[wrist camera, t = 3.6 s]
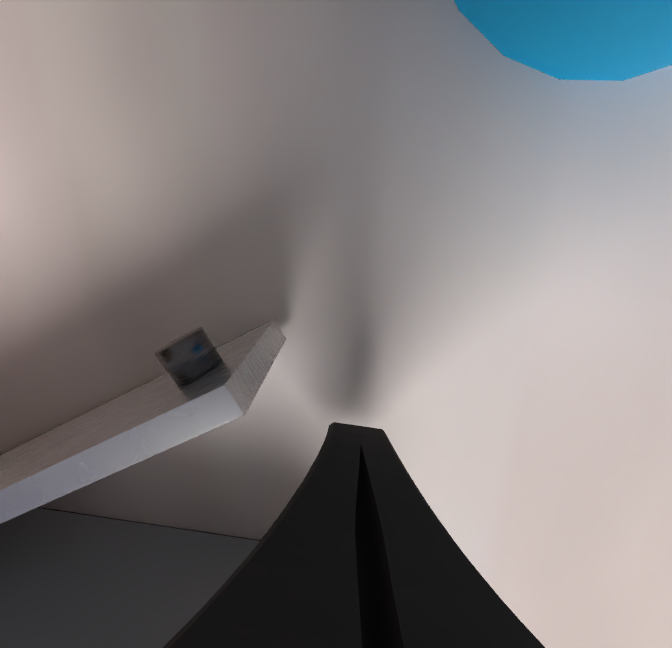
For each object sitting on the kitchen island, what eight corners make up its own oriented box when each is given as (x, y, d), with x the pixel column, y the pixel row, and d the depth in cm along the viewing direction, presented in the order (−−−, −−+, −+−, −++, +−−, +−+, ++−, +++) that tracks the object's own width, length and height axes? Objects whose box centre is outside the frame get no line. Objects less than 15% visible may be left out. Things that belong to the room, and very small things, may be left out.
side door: (-42, 502, 11) (-231, 639, 8) (-79, 466, 11) (-298, 593, 7) (290, 344, 9) (247, 433, 5) (259, 291, 8) (189, 346, 5)
